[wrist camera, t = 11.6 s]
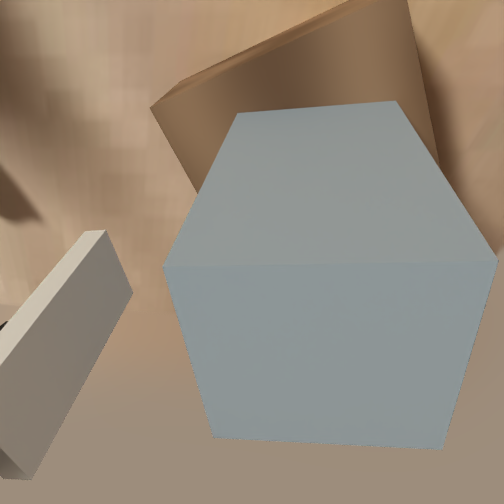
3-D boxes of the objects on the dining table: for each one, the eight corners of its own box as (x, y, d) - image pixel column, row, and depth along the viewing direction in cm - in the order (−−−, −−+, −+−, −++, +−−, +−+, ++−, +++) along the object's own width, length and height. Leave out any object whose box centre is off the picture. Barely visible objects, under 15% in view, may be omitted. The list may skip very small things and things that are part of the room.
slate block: (253, 239, 19) (213, 437, 11) (237, 113, 16) (162, 266, 8) (383, 235, 18) (441, 449, 10) (395, 100, 15) (498, 260, 7)
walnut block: (260, 236, 25) (250, 288, 21) (182, 79, 20) (149, 107, 16) (427, 184, 22) (453, 234, 18) (382, -17, 17) (404, -12, 13)
